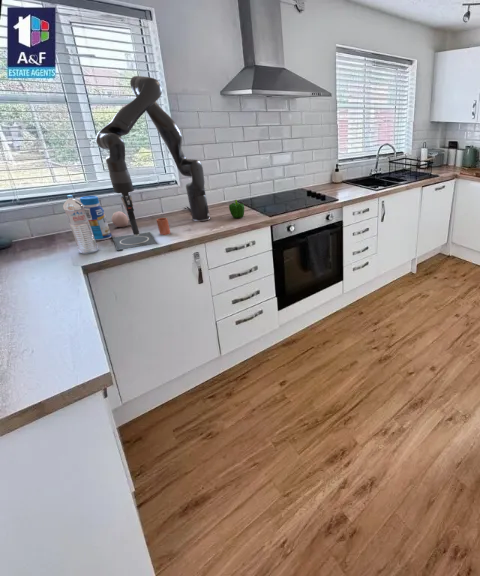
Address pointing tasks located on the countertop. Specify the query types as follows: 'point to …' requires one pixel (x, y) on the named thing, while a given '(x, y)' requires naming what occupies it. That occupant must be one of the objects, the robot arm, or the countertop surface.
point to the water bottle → (80, 226)
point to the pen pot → (163, 226)
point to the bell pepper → (236, 209)
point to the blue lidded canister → (96, 217)
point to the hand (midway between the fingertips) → (132, 218)
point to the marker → (134, 226)
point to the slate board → (133, 241)
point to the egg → (119, 219)
